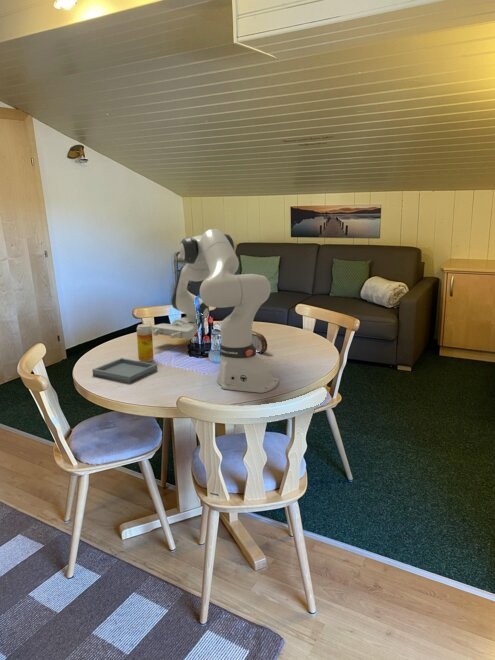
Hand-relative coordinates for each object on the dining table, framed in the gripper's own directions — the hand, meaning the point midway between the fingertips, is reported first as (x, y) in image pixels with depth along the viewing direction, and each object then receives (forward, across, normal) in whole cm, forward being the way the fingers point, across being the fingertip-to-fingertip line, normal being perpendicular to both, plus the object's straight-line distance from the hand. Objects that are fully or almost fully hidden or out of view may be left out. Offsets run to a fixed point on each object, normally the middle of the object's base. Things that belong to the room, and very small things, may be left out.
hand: (162, 335), depth 208 cm
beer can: (+12, 0, +8) cm, 15 cm away
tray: (+28, +3, +8) cm, 29 cm away
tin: (-21, +34, +8) cm, 41 cm away
